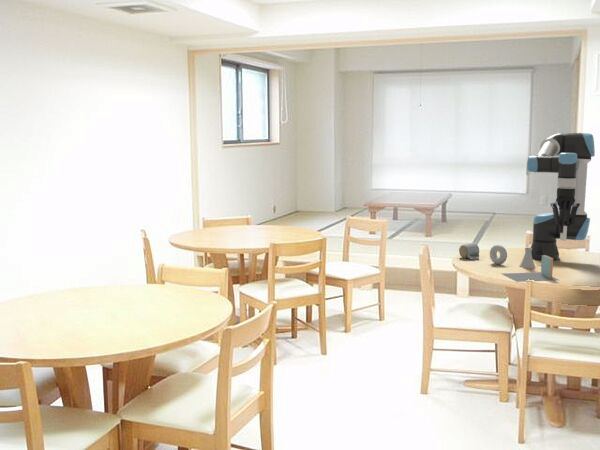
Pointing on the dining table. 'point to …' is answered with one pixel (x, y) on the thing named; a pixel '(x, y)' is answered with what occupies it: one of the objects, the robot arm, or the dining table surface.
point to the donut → (494, 254)
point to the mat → (528, 277)
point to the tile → (547, 266)
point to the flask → (527, 259)
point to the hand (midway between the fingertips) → (563, 239)
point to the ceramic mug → (469, 251)
